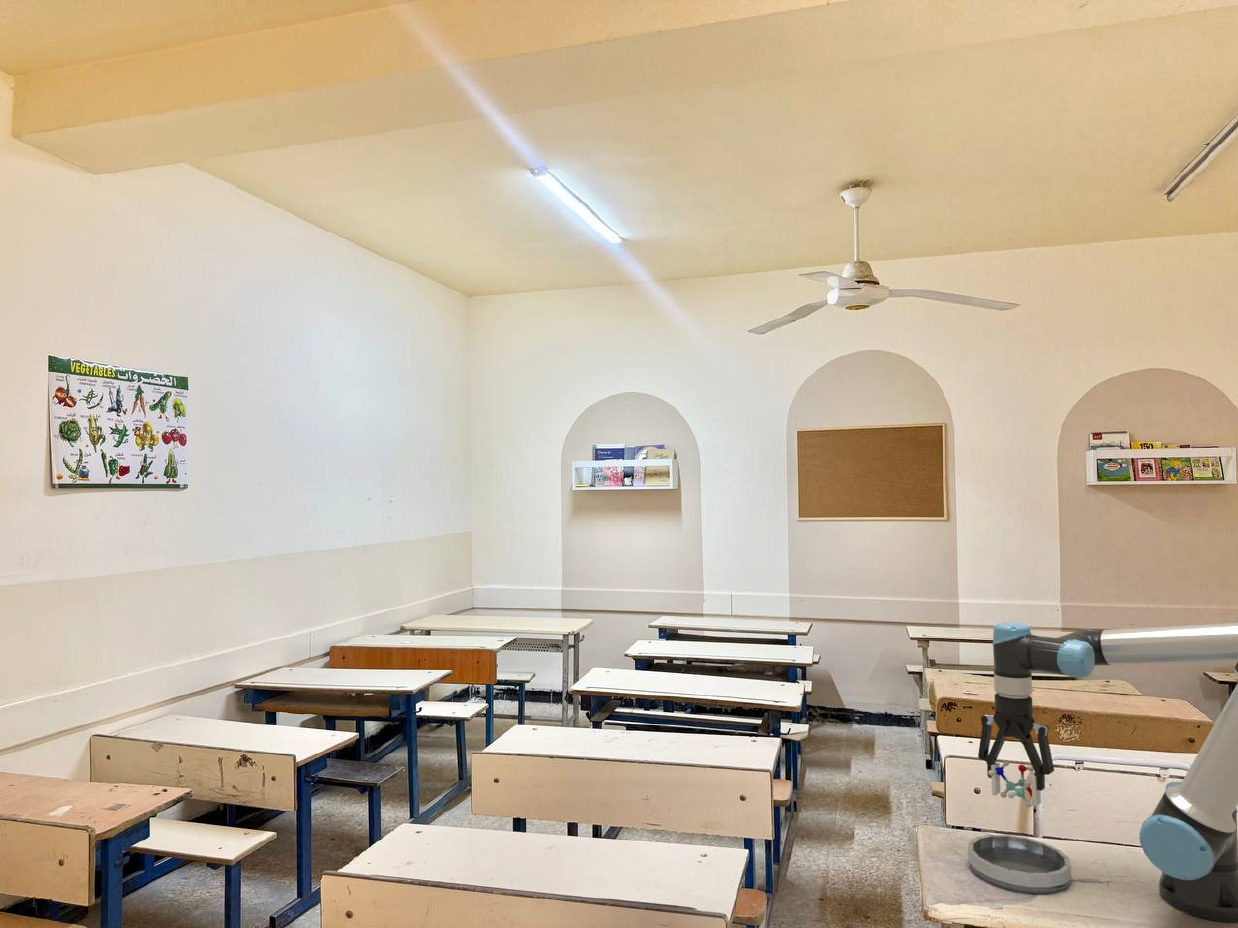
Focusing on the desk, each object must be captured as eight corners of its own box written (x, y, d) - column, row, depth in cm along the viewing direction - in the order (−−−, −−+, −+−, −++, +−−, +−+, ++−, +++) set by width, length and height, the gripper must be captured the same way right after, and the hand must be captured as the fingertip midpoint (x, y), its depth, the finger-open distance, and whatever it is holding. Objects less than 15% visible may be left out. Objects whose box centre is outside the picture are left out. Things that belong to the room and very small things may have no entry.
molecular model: (1055, 796, 170) (1026, 750, 174) (1013, 815, 171) (985, 769, 176) (1050, 794, 180) (1022, 750, 184) (1010, 812, 182) (984, 769, 186)
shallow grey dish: (1084, 872, 176) (1084, 854, 176) (1050, 904, 163) (1049, 884, 163) (991, 844, 191) (991, 827, 191) (952, 871, 178) (952, 852, 178)
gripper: (1070, 699, 173) (1073, 807, 173) (973, 683, 189) (976, 782, 188) (1057, 705, 168) (1060, 816, 167) (959, 688, 184) (961, 790, 183)
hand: (1016, 798), depth 178 cm, fingers closed on molecular model, 8 cm apart
